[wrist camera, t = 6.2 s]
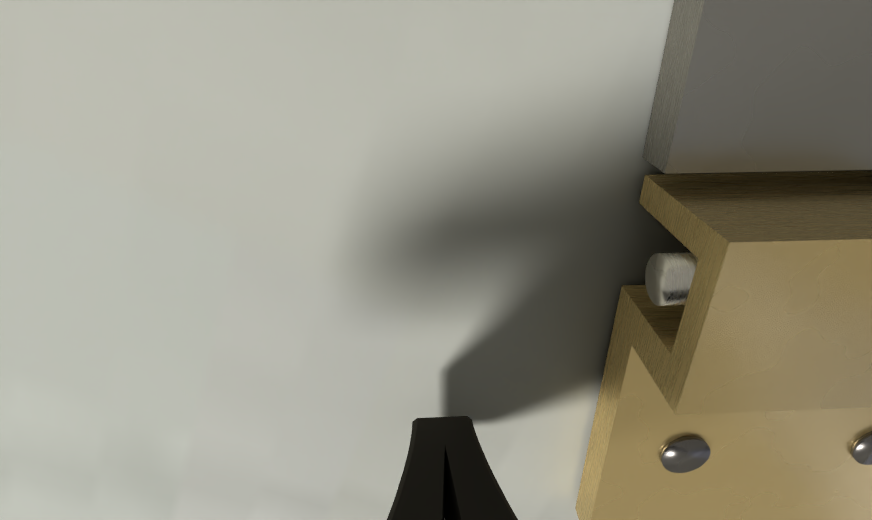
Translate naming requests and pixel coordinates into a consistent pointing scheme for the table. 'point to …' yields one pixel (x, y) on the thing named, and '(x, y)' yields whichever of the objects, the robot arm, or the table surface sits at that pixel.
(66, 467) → the table surface
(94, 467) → the table surface
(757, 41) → the fixed leaf
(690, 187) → the tan hinge plate
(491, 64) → the table surface
